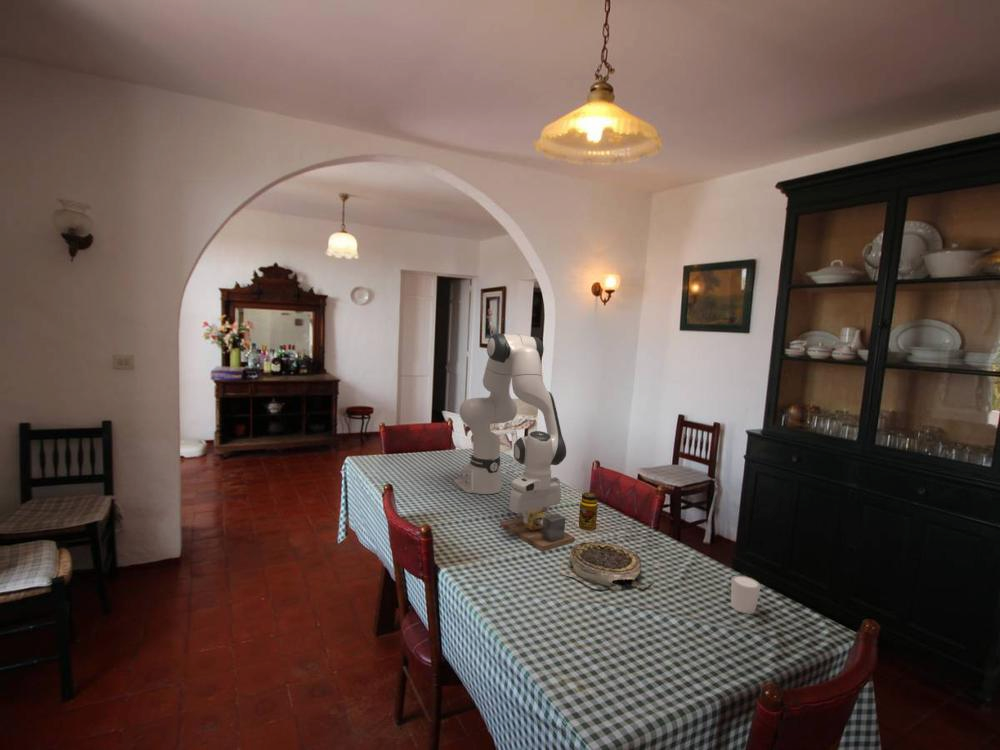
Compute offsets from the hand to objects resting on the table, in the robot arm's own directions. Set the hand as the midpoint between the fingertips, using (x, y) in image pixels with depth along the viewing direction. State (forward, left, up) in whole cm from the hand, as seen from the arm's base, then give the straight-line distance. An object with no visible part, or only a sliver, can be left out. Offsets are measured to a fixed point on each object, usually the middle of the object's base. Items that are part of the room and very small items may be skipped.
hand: (534, 520), depth 170 cm
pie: (+30, +2, -5) cm, 30 cm away
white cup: (+63, +17, -4) cm, 66 cm away
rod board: (+1, 0, -4) cm, 4 cm away
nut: (0, 0, -2) cm, 2 cm away
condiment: (+5, +20, -4) cm, 21 cm away
